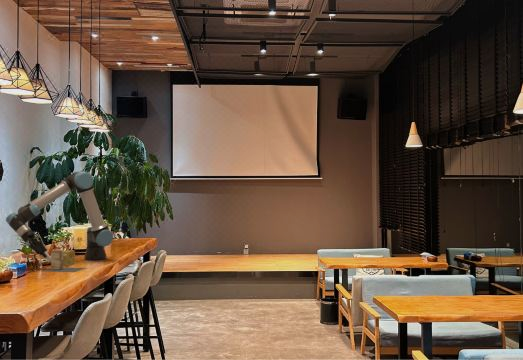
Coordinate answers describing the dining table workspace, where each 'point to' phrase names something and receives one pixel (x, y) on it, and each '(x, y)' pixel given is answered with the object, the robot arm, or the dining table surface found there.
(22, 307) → the dining table surface
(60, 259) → the block
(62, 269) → the mat
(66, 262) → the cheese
